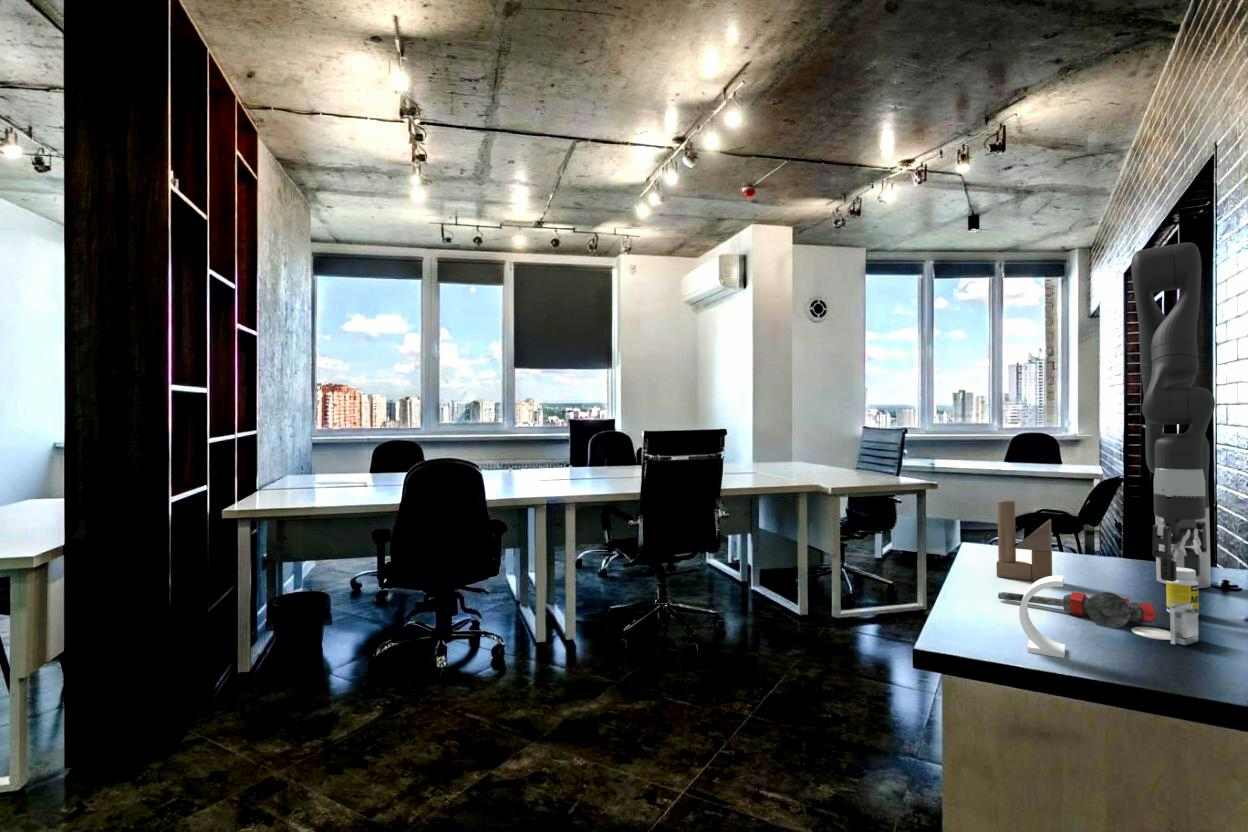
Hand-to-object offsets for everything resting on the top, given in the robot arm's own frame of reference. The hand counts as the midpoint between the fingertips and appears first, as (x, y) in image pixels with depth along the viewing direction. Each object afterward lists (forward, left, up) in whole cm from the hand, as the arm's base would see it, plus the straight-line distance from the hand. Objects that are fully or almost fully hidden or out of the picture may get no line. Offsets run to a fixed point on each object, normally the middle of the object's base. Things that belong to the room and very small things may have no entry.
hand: (1180, 578), depth 125 cm
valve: (+14, -11, -7) cm, 19 cm away
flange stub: (+18, +7, -7) cm, 20 cm away
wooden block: (-1, -31, -7) cm, 32 cm away
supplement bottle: (0, 0, -7) cm, 7 cm away
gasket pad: (+18, +3, -7) cm, 19 cm away
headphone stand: (+41, -1, -7) cm, 42 cm away
